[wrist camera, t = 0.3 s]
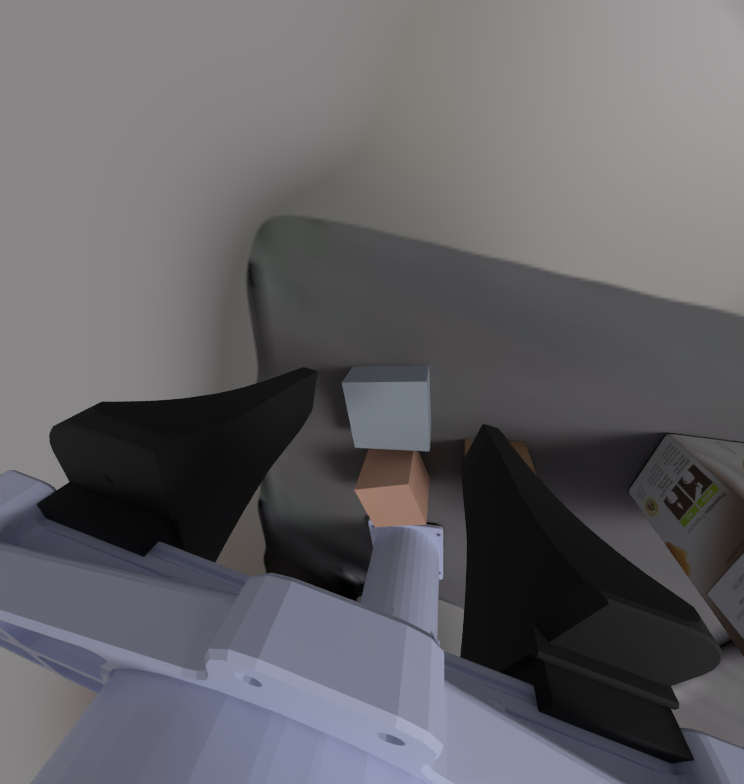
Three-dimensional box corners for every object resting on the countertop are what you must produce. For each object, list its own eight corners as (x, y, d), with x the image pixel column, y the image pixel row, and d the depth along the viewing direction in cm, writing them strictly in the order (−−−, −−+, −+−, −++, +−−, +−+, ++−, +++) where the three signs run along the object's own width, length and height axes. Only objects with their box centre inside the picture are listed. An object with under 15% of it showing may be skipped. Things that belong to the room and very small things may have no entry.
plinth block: (431, 427, 24) (429, 451, 21) (363, 425, 26) (354, 447, 23) (429, 363, 21) (426, 381, 19) (353, 365, 23) (341, 382, 20)
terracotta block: (429, 477, 27) (426, 524, 22) (385, 482, 28) (374, 527, 24) (414, 440, 25) (408, 484, 21) (369, 448, 26) (354, 489, 22)
